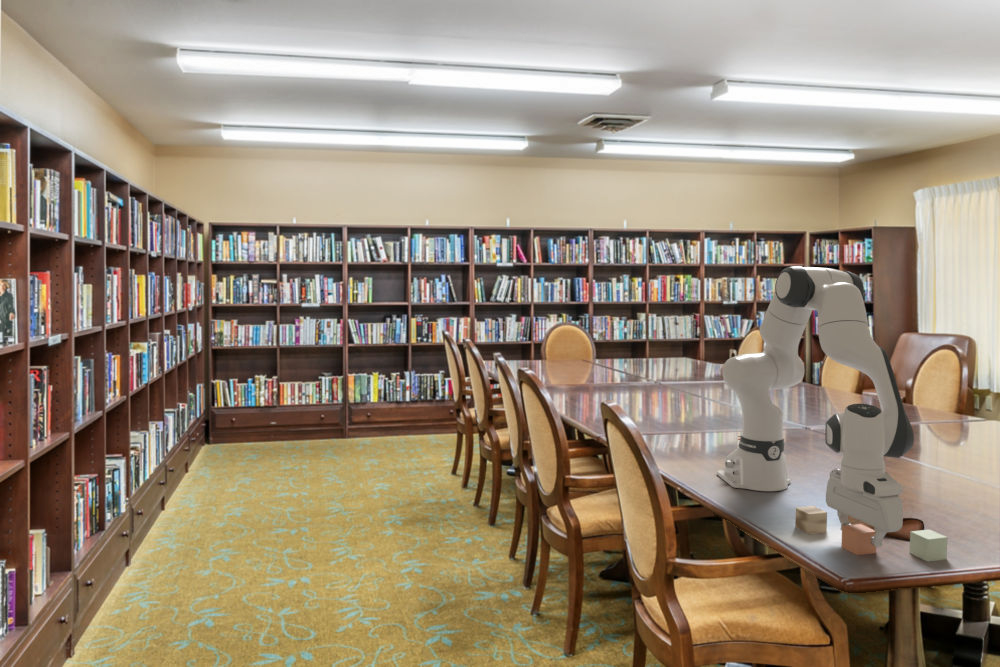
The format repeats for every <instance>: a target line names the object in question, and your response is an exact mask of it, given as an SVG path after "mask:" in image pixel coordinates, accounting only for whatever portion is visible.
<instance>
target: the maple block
mask: <svg viewBox="0 0 1000 667" xmlns="http://www.w3.org/2000/svg"><path fill="white" fill-rule="evenodd" d="M794 525H795V528H796V529H798V530H799V531H802V532H803V533H805V534H807V535H813V534H816V535H817V534H824V533H827V532H828V531H827V530H828V528H827V526H828V512H827V511H825V510H823V509H821V508H819V507H816V506H815V505H810V506H800V507H799V506H798V507H795V524H794Z"/></svg>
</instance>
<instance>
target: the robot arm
mask: <svg viewBox="0 0 1000 667" xmlns="http://www.w3.org/2000/svg"><path fill="white" fill-rule="evenodd" d="M774 290H775V292H774V294H773V296H772V298H771V300H770V302H769V305H768V307H767V309H766V312H765V315H764V317H763V319H762V322H761V324H760V326H759V331H758V332H759V334H760V337H761V339H762V340H763V342H764V343H765V344H766V345H765V347H764V350H763V351H761V352H753V353H742V354H738V355H735V356H732V357H730V358H728V359H727V360H725V363H724V364H723V368H722V378H723V382H724V383H725V384H726V386H727V388H728V389H730V390H732V392H733V393H734V394H735V395H736V397H737V399H738V402H739V403H740V408H741V414H742V415H741V416H742V420H741V421H742V423H741V424H742V435H738V436H737V440H738V445H737V446H738V447H737V448H736V449H735V450H733V451H732V452H731V453H730V454H727V455H726V457H725V461H724V468H723V469H719V470H717V471H716V475H717V476H718V477H719V478H721V480H723V481H724V482H726V483H727V484H728V485H730V486H731V487H732V488H735V489H736V488H737V489H746V490H750V491H751V490H752V491H759V492H777V491H784V490H786V489H787V488H788V487H789V486H788V485H790V484H791V478H788V466H787V465H788V463H787V455H785V454H784V453H783V452H784V451H785V438H783V435H784V434H783V431H784V425H783V424H784V414H783V411H782V410H781V408H780V407H779V406H777V405H776V404H774V403H773V402H772V399H771V395H770V391H771V390H772V391H773V390H784V389H787V388H788V389H789V388H791V387H793V386H796V385H798V384H799V383H801V382H802V381H803V379H804V377H805V364H804V361H803V360H802V359H801V357H800V356H799V345H800V343H801V340H802V336H803V335H804V331H805V329H806V328H807V324H808V322H809V319H810V317H811V316H812V313H813V311H816V313H817V327H818V329H817V332H818V339H819V340H818V341H819V344H820V347H821V350H822V351H823V353H824V354H825V355H826V356H827V357H828V358H829V359H831V360H832V361H834V362H836V363H837V364H840V365H842V366H845V367H848V368H852V369H854V370H857V371H859V372H861V373H863V374H864V375H866V376H868V377H869V378H870V380H871V381H872V382H873V385H874V388H875V392H876V395H877V399H878V402H879V406H880V408H879V407H878V406H875V405H872V404H868V403H853V404H848V405H847V406H846V407H845V409H844V412H841V413H836V414H833V415H832V416H830V418H829V419H827V421H825V431H824V432H825V434H824V435H825V438H824V439H825V440H824V441H825V444H826V445H827V447H828V448H830V449H831V451H833V452H835V453H837V454H841V455H842V458H841V460H840V469H839V468H834V469H832V470H831V471H830V472H829V478H828V481H827V484H826V491H825V503H826V505H827V507H828V508H831V509H833V510H835V511H837V512H836V513H837V518H838V520H839V522H840V530H841V531H842V526H846V525H852V524H850V523H849V519H848V515H849V516H851V517H853V518H855V519H858V520H860V521H862V522H865V523H867V524H869V525H871V526H874V531H875V532H876V534H875V536H874V537H871V544H872V545H873V546H876V548H881V547H882V546H883V539H884V538H885V537H886V536H885V535H886V533H887V532H896V531H899V530H900V529H901V528H902V524H903V517H904V506H903V501H902V499H901V497H900V496H901V495H903V493H904V488H903V485H902V484H901V483H899V482H898V481H897V480H896V479H894V478H893V477H892V476H891V475H890V474H889V473H888V472H886V464H885V460H884V457H886V458H896V459H899V458H901V457H903V456H904V455H906V454H907V453H908V452H909V451H911V449H912V448H913V447H914V442H915V436H914V435H915V434H914V430H913V427H912V424H911V422H910V418H909V417H908V414H907V413H906V409H905V406H904V403H903V400H902V396H901V392H900V389H899V385H898V382H897V379H896V377H895V373H894V370H893V366H892V364H891V360H890V358H889V355H888V354H887V351H886V350H885V348H883V347H882V346H879V345H878V344H877V343H876V342H875V341H874V338H873V337H872V334H870V331H869V330H870V329H869V322H868V316H867V311H866V310H867V309H866V306H865V301H864V298H863V297H864V294H865V293H864V292H865V288H864V283H863V280H862V278H861V277H860V276H859V275H857V274H856V273H853V272H851V271H848V270H840V269H835V268H830V267H829V268H828V267H822V266H821V267H814V266H812V267H811V266H807V267H806V266H804V267H803V266H801V265H796V266H795V265H794V266H793V265H792V266H789V267H785V268H783V269H782V271H781V272H779V274H778V275H777V278H776V280H775V286H774Z"/></svg>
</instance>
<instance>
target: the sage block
mask: <svg viewBox="0 0 1000 667" xmlns="http://www.w3.org/2000/svg"><path fill="white" fill-rule="evenodd" d="M909 554H911V555H912V556H915V557H917V558H919V559H920V560H923V561H926V562H934V561H943V560H947V559H948V536H946V535H943V534H941V533H938V532H936V531H934V530H931V529H924V530H920V531H911V532H910V541H909Z"/></svg>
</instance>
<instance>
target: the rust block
mask: <svg viewBox="0 0 1000 667" xmlns="http://www.w3.org/2000/svg"><path fill="white" fill-rule="evenodd" d="M875 534H876V532H875V531H874V530H873V529H871V528H869V527H866V526H864V525H862V524H856V525H846V526H842V530H841V545H840V546H841V548H843V549H845V550H846V551H848V552H849V553H852V554H854V555H855V556H860V555H861V556H862V555H870V554H871V555H872V554H877V547H876V546H873V545H872V544H871V537H874V536H875Z"/></svg>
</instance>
